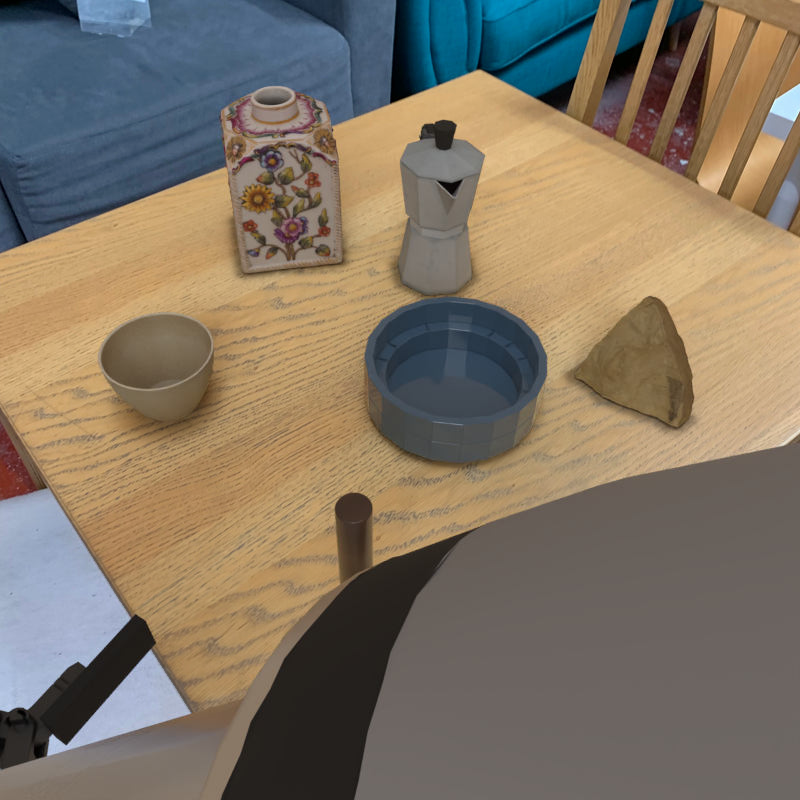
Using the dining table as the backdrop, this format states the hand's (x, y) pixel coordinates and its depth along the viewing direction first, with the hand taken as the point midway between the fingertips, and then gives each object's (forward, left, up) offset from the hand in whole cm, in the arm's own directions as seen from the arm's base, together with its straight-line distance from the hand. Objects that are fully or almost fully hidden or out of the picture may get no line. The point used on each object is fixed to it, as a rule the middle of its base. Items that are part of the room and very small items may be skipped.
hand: (243, 693), depth 40 cm
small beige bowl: (+36, -4, -15) cm, 39 cm away
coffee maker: (+43, -37, -15) cm, 59 cm away
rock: (+16, -44, -15) cm, 49 cm away
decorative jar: (+55, -24, -15) cm, 62 cm away
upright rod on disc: (+6, -9, -15) cm, 19 cm away
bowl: (+24, -28, -15) cm, 40 cm away
